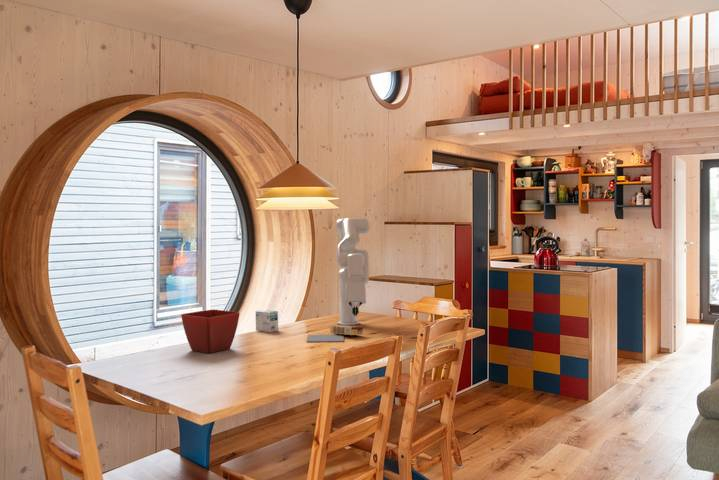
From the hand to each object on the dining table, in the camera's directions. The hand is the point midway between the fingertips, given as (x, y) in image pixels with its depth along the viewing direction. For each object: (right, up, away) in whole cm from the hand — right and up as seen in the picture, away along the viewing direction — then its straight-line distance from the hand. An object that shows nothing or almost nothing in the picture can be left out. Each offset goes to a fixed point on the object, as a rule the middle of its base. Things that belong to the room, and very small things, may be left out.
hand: (355, 315), depth 293 cm
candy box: (+1, -8, +3) cm, 9 cm away
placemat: (-15, -12, 0) cm, 19 cm away
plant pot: (-66, -13, -23) cm, 71 cm away
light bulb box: (-48, -11, +23) cm, 54 cm away
